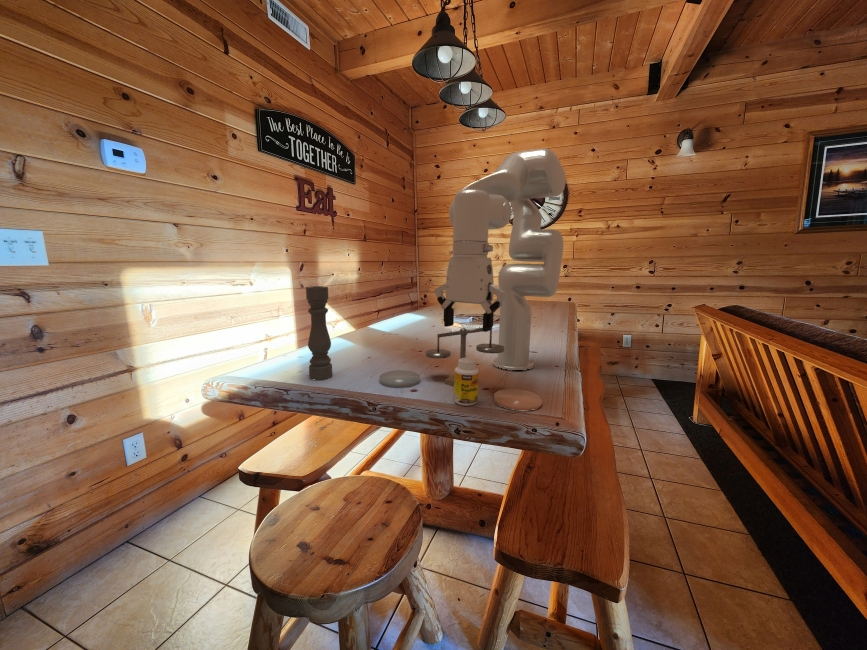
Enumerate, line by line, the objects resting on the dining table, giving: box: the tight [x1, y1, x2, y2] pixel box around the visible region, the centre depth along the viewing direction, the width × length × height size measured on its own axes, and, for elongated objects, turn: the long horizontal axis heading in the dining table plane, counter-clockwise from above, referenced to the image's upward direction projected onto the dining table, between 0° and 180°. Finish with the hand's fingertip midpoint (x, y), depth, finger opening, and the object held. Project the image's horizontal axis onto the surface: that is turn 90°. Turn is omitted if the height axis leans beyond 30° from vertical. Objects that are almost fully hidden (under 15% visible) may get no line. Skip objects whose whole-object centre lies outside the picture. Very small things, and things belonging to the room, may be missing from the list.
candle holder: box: [305, 285, 333, 381], centre depth 100 cm, size 6×6×25 cm
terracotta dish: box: [493, 388, 543, 410], centre depth 86 cm, size 11×11×1 cm
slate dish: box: [378, 370, 421, 389], centre depth 100 cm, size 11×11×1 cm
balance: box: [425, 327, 504, 387], centre depth 97 cm, size 7×22×16 cm, turn 57°
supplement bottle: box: [453, 357, 480, 407], centre depth 85 cm, size 6×6×10 cm
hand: (467, 328), depth 83 cm, fingers open, 9 cm apart
